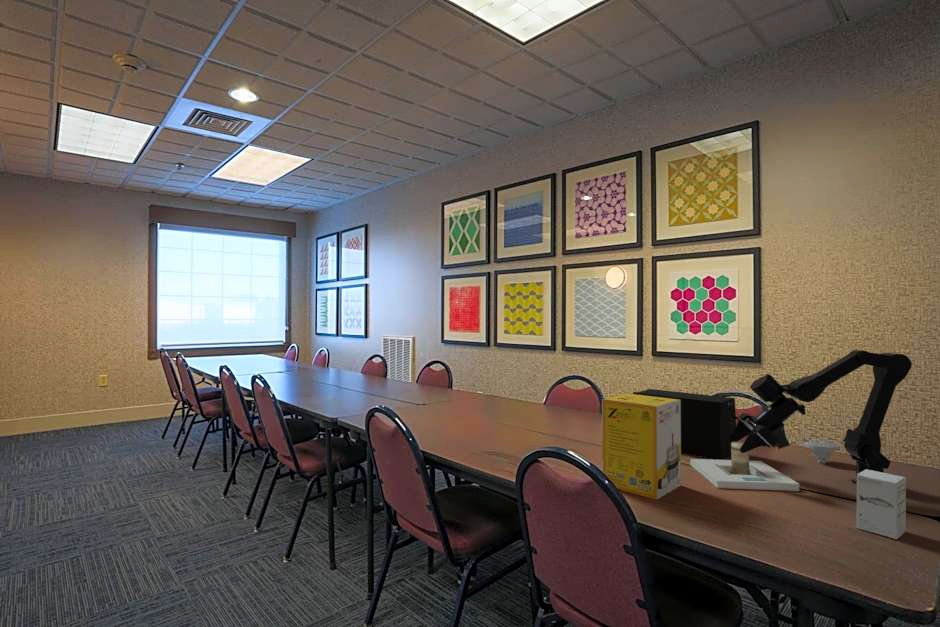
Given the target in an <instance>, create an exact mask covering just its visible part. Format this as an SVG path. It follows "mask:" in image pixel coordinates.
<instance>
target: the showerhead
mask: <svg viewBox="0 0 940 627" xmlns="http://www.w3.org/2000/svg"><path fill="white" fill-rule="evenodd" d="M802 441H803V442H804V447H805V448H808V449H811V450H812V455H813V457H814V458H817V462H818V463H819V462H821V463H820V464H826V463H827V460H828V459H830V458H831V457H832V455H831V454H832V452H838V451H839V450H840V445H839V444H837V443H835V442H831V441H827V440H822V439H821V440H819V439H806V438H803V439H802ZM826 459H827V460H826Z"/></svg>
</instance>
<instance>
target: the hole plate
mask: <svg viewBox="0 0 940 627" xmlns="http://www.w3.org/2000/svg"><path fill="white" fill-rule="evenodd" d="M689 462H690V463H689V466H691V467H693V469H695V471H697V472H698V473H699V474H700V473H701V476H702V477H704V478H705V479H706V480H708V482H710V483H711V484H712V485H713V486H714V487H716V488H717V489H735V490H740V489H741V490H765V491H766V490H767V491H768V490H769V491H787V492H788V491H791V492H799V491H800V483H799V482H797V481H795V480H794V479H792V478H790V477H789V476H787V475H785V474H784V473H782V472H780V471H778V470H777V469H775V468H774V467H771V466H770V465H768V464H766V463H764V462H763V461H762V460H749V475H733V474H731V459H724V460H714V459H709V458H690V459H689Z"/></svg>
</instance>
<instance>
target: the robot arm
mask: <svg viewBox="0 0 940 627" xmlns="http://www.w3.org/2000/svg"><path fill="white" fill-rule="evenodd" d="M865 365H866V366H870V367H871V366H872V372H873V377H874V382H873V384H872V387H871V389H870V393H869V396H868V399H867V402H866V404H865V407H864V410H863V412H862V415H861V418H860V420H859V424H858V425H857V426H856V427H855V428H854V429H851V428H848V429H847V430H846V434H845V437H844V438H843V439H842V442H844V443H843V446H844V449H845V451H846V452H847V453H848V454H849V455H850V458H851V460H853V461H856V463H855V464H856V465H855V477H856V478H855V479H853V478H852V479H850V481H851V482H852V483H854V484H856V485H857V474H859V473H860V472H862V471H864V470H866V469H868V470H873V471H878V472H882V473H885V472H884V470H885V469H887V470H888V469H889V468H890V466H891V463H892V462H891V461H890V459H888V458H887V457H886V456H885V455H884V454H882V453H881V449H882V440H881V434H880V433H881V432H880V431H881V429H882V426H883V423H884V421H885V417H886V415H887V413H888V412H887V411H888V410H889V406H890V404H891V401H892V399H893V395H894V393H895V390H896V387H897V386H898V384H901V382H902V381H903V380H905V378H906V377H907V376H908V374H909V373H910V371H911V369H912V366H913V362H912V361H911V359H910V358H909V357H908V356H907V355H905V354H902V353H893V352H882V353H875V352H870V351H869V352H868V351H867V350H860V349H852V350H851V351H850V352H849V353H848V354H846V355H844V356H843V357H841V358H839V359H837V360H836V361H834V362H832V363H831V364H829V365H828V366H826V367H824V368H822V369H820V370H819V371H817V372H816V373H813V374H810V375H807V376H803V377H800V378H797V379H794V380H793V381H790V382H789V383H788V384H780V383H779V382H778V381H777V380H776V379H775V378H774V377H773V376H772V375H771V374H768V373H766V374H765V375H764V376H761V377H759V378H757V379H755V380H753V382H752V383H751V385H750V386H749V389H750V390H751V391H753V392H754V393H755V395H756V396H758V397H759V398H760V399H761V400H762V401H763V402H765V403H770V404H769V405H768V406H767V407H765V406H763V407H761V410H762V411H761V412H760V413H758V414H757V415H756V416H755V415H751V414H750V413H748V412H742V413H741V414H740V415H738V417H739V419H737V420H738V421H737V422H736V429H735V431H734V434H733V436H732V439H731V442H740V441H741V440H742V439H744V438H745V440H744V442H743V445H742V447H741V449H740V452H741V453H745V452H747V451H749V452H750V451H752V450H755V449H758V448H759V447H766V448H776V447H777V449H779V450H780V449H783V448H786V447H789V446H790V442H789V440H788V438H787V436H786V433H784V431H783V428H785V423H784V422H785V421H787V419H788V420H789V418H790V417H791V416H792V415H794V414H795V413H796V412H798V414H801V415H803V416H805V415H806V409H805V408H806V405H804V404H803V403H798V402H797V401H801V402H804V403H811V402H814V401H815V400H817V398H818V397H820V396H821V395H822V394H823V393H824V391H825V390H826V389H827V387H829V386H830V385H831V384H833V383H835V382H837V381H839V380H840V379H842V378H843V377H846V376H847V375H848V374H850V373H852V372H854V371H856V370H857V369H859V368H860V367H863V366H865ZM784 394H786V395H789V396H790V397H787V396H786V395H784ZM796 400H797V401H796Z"/></svg>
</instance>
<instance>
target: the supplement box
mask: <svg viewBox="0 0 940 627" xmlns="http://www.w3.org/2000/svg"><path fill="white" fill-rule="evenodd" d="M906 484H907V477H905V476H901V475H895V474H892V473H886V472H884V473H882V472H878V471H873V470H868V469H866V470H864V471H862V472H860V473H859V474H857V484H856V529H857V528H858V530H862V531H867V532H870V533H873V534H878V535H880V536H884V537H886V536H887V538H890V539H892V538H893V540H895V539H897V540H898V539H899V538H900V537H902V536H903V535H904V534H905V532H906V522H907V521H906V520H907V519H906V516H907V515H906V514H907V510H906V509H907V502H906V499H907V497H906V494H907V490H906V489H907V486H906Z"/></svg>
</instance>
